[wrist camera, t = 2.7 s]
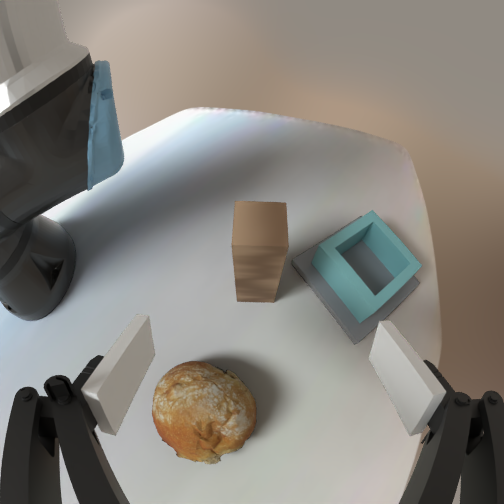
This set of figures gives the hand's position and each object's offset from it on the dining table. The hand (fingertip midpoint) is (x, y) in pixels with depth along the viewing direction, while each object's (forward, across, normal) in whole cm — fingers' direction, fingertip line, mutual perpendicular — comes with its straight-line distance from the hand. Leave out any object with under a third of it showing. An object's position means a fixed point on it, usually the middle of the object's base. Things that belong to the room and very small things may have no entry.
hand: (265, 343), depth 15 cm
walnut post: (+16, 0, -3) cm, 16 cm away
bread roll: (+6, -5, -14) cm, 16 cm away
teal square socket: (+17, +12, -2) cm, 21 cm away
